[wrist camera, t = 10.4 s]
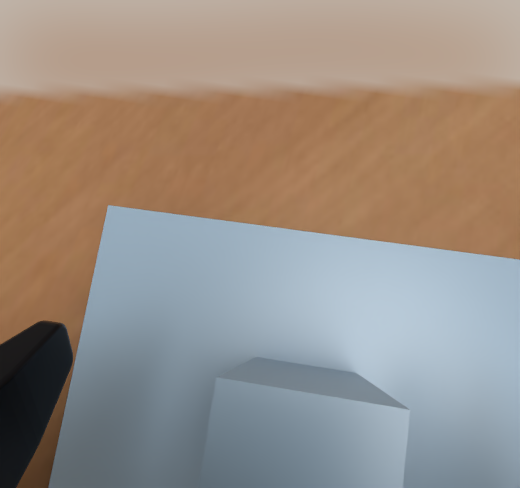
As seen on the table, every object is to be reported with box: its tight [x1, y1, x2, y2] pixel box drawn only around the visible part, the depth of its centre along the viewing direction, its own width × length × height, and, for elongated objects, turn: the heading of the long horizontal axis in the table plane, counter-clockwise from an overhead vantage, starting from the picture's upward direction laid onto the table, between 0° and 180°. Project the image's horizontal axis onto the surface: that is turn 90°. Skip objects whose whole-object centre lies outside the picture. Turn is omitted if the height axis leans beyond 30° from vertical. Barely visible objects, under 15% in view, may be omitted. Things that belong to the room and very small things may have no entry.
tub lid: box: [48, 205, 520, 488], centre depth 11 cm, size 11×14×8 cm
